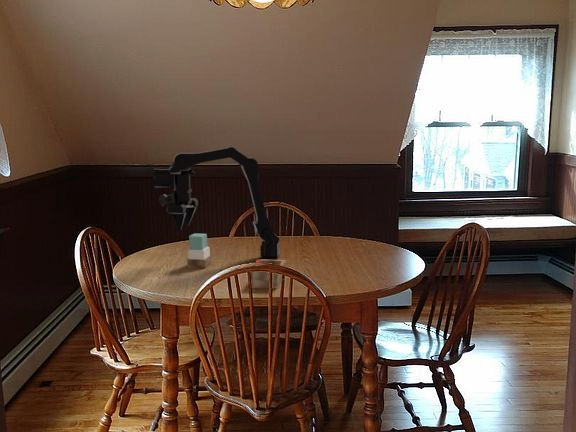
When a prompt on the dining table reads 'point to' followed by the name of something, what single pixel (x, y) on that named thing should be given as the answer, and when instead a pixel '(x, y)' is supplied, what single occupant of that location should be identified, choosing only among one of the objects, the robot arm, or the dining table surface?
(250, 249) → the dining table surface
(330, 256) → the dining table surface
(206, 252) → the cream block
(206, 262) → the walnut block
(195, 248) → the teal cube
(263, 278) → the bracket cradle
